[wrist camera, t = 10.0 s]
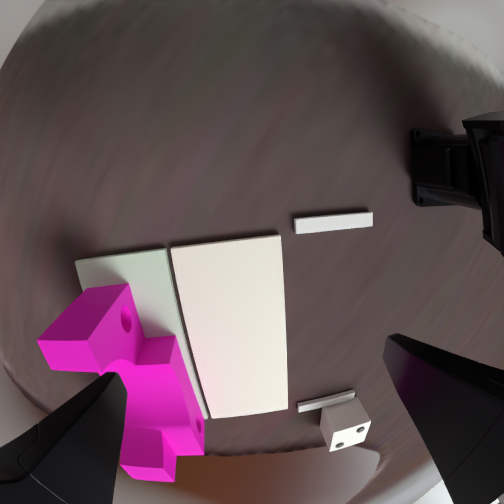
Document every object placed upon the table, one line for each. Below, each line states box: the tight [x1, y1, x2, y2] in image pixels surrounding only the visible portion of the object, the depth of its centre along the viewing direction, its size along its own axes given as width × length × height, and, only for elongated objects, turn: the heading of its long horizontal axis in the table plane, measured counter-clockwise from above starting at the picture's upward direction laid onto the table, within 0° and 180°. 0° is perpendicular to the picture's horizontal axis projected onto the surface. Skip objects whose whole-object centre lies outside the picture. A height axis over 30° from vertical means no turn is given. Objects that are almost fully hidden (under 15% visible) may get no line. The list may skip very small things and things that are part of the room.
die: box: [320, 397, 371, 452], centre depth 23 cm, size 4×4×4 cm
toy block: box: [37, 283, 204, 482], centre depth 16 cm, size 15×6×8 cm, turn 6°
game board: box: [75, 212, 373, 419], centre depth 21 cm, size 22×19×1 cm
